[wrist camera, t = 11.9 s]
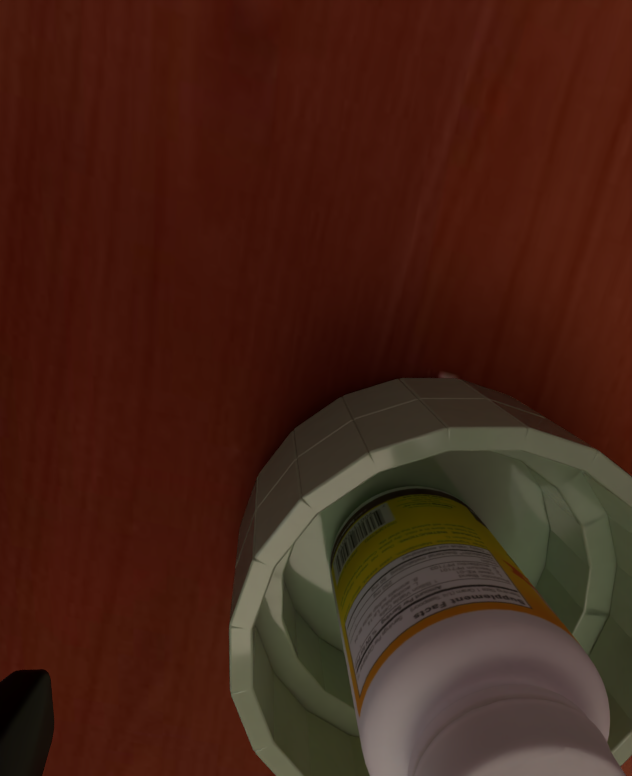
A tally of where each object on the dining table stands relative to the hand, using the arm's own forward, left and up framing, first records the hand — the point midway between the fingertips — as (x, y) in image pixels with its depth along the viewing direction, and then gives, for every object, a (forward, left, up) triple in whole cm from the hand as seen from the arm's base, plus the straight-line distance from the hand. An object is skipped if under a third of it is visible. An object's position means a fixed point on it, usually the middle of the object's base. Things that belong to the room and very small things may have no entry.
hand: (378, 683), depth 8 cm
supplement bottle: (+3, -4, -12) cm, 13 cm away
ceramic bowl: (+4, -4, -12) cm, 13 cm away
